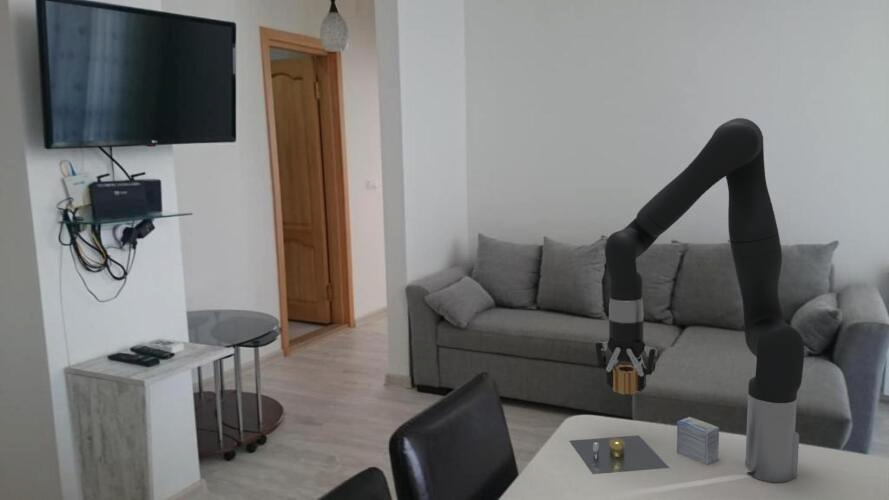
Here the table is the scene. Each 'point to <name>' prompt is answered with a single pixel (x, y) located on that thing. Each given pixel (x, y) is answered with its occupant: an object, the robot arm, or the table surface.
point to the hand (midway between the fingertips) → (626, 388)
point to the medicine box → (698, 440)
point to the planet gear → (625, 379)
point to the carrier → (617, 454)
